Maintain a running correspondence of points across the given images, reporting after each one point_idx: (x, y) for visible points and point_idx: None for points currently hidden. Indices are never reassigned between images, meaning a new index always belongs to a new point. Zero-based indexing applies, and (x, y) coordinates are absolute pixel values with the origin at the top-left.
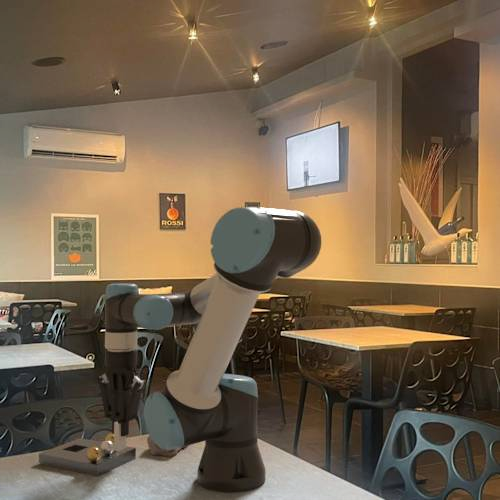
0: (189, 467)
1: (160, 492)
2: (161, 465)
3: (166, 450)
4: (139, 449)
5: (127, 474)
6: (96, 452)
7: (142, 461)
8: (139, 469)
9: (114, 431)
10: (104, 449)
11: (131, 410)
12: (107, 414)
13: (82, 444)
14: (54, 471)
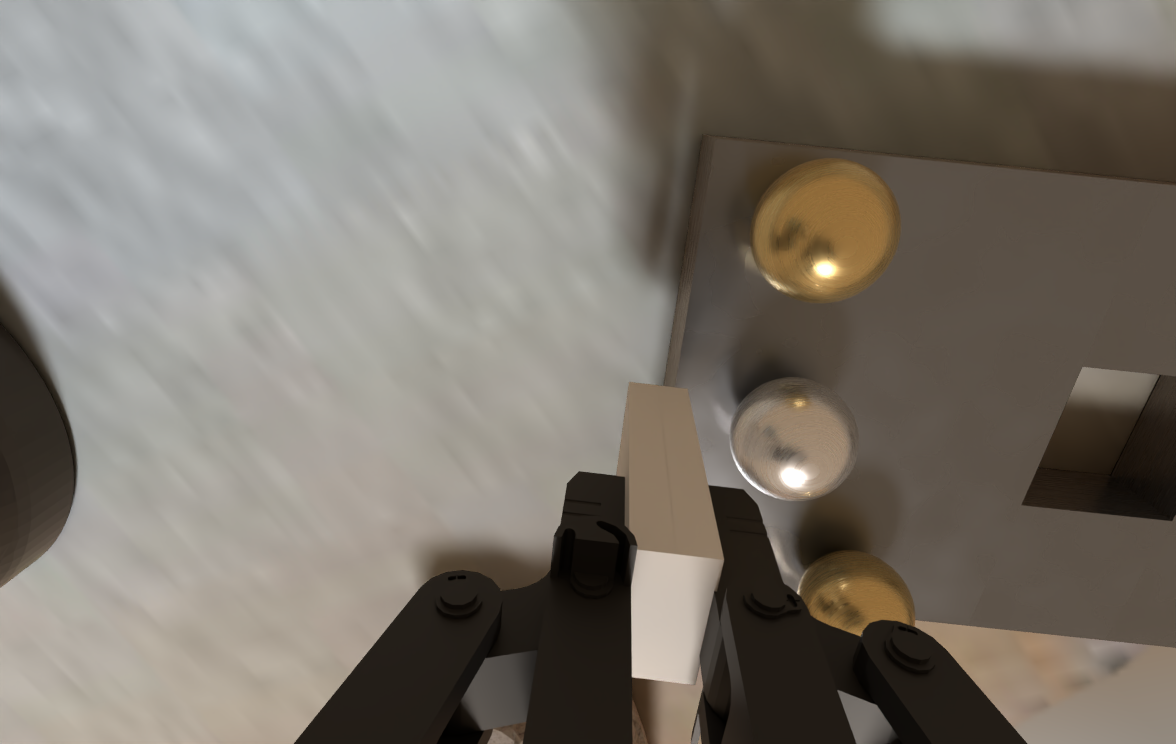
0: (224, 506)
1: (40, 16)
2: (402, 483)
3: None
4: None
5: (506, 260)
6: (778, 204)
7: (562, 506)
8: (488, 375)
9: (703, 485)
10: (789, 383)
11: (311, 727)
12: (900, 664)
13: (1104, 540)
14: (1128, 96)
